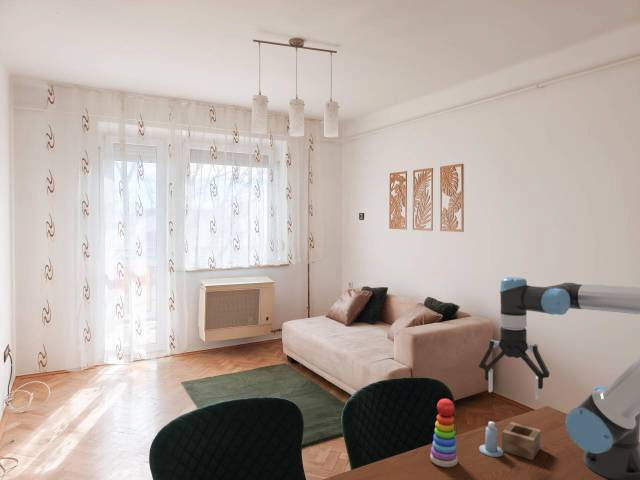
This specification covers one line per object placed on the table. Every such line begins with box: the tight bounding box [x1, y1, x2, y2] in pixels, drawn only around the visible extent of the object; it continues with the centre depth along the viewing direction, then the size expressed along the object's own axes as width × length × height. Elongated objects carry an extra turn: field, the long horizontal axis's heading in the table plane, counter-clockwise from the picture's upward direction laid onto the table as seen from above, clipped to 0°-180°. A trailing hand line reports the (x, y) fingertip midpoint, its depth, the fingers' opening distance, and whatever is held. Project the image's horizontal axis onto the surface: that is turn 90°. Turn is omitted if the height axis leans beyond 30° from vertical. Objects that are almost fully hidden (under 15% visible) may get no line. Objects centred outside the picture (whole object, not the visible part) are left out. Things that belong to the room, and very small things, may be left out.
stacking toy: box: [429, 398, 459, 468], centre depth 137 cm, size 8×8×19 cm
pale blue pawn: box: [478, 421, 504, 458], centre depth 144 cm, size 7×7×9 cm
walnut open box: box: [501, 421, 542, 461], centre depth 145 cm, size 9×9×6 cm
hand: (513, 394), depth 145 cm, fingers open, 13 cm apart
